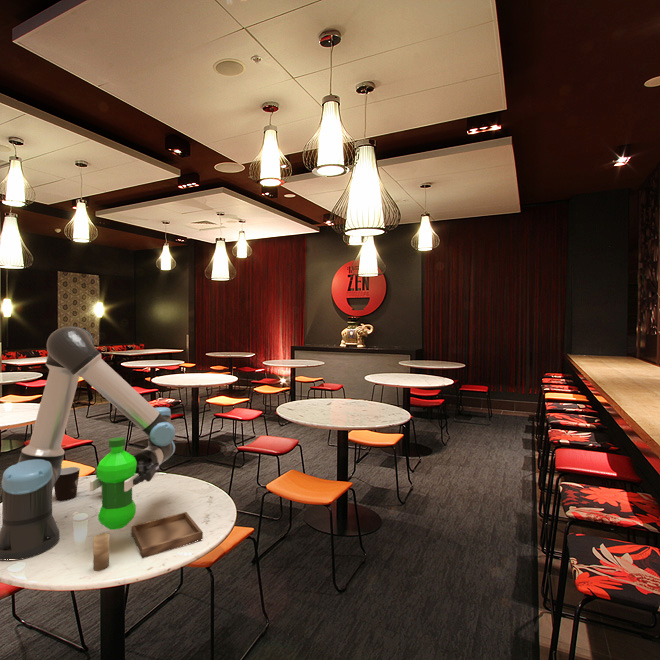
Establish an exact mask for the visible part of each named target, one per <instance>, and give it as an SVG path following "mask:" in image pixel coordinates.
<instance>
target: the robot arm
mask: <svg viewBox="0 0 660 660" xmlns="http://www.w3.org/2000/svg"><path fill="white" fill-rule="evenodd" d="M46 350H47V352H48V354H47V357H46V361H45V366H46V367H47V368H48V370H49V371H48V375H47V378H46V382H45V385H44V389H43V392H42V393H43V394H42V396H41V400H40V404H39V408H38V411H37V415H36V419H35V423H34V426H33V429H32V430H33V431H32V434H31V438H30V441H29V443H28V444H27V445H26V446H25V447H23V448H22V449H21V451H20V455H19V459H18V462H17V463H16V464H12V465H11V466H8V467H7V468H6V469H5V470H4V472H3V474H2V479H1V489H2V491H1V493H2V494H1V497H2V499H1V500H2V501H1V505H2V514H1V515H2V517H1V520H2V525H1V528H0V559H6V560H7V559H8V560H9V559H19V560H23V559H22V558H24V559H28V558H31V557H33V556H34V555H35V556H37V555H40V554H43V553H44V552H46V551H48V550H50V549H51V548H53V547H55V546H56V545H57V544H58V543H59V541H60V530H59V527H58V525H57V522H56V520H55V518H54V515H53V490H54V485H55V483H56V481H57V480H58V478H59V476H60V474H61V469H62V468H63V467H62V464H63V460H64V456H65V450H64V449H63V447H62V443H63V439H64V437H65V432H66V430H67V429H66V427H67V425H68V422H69V421H68V420H69V417H70V414H71V410H72V405H73V402H74V399H75V395H76V390H77V387H78V383H79V379H80V377H81V378H82V379H83V380H84V381H85V382H86V383H87V384H89V385H90V386H91V387H92V388H93V389H94V390H96V391H97V392H98V393H99V394H100V395H101V396H102V397H103V398H104V399H106V401H108V402H109V403H111V404H112V405H113V406H114V408H116V409H117V410H118V411H119V412H120V413H122V414H123V416H125V418H127V419H128V420H130V422H132V423H133V424H134V425H135V426H137V428H138V429H139V430H141V431H142V432H143V433H144V434H145V436H146V437H147V444H148V446H147V447H145V448H144V449H141V450H140V451H139V452H137V453H136V454H134V455H133V456H134V457H135V459H136V461H137V467H136V472H135V474H134V475H133V476H132V477H130V478H129V479H127V480H126V481H125V482H124V491H128V490H129V489H131V488H132V489H133V487H135V486H136V485H139V483H144V481H145V482H151V481H152V479H153V477H154V476H155V474H156V473H158V472H159V471H160V466H161V465H162V464H163V463H164V462H166V461H168V460H169V459H170V458H171V457H172V456H173V455H174V453H175V451H176V445H175V442H174V439H175V437H176V428H175V426H174V425H173V423H172V421H171V420H172V419H171V418H172V413H171V412H172V411H171V408H169V407H166V406H165V407H164V406H163V407H162V406H161V407H154V406H153V405H152V404H151V403H150V402H148V401H147V400H146V399H145V397H143V396H142V395H141V394H140V393H139V392H138V391H137V390H136V389H135V388H133V386H131V384H129V383H128V382H127V381H126V380H125V379H123V377H122V376H121V375H120V374H119V373H118V372H116V371H115V370H114V369H113V368H112V367H111V366H110V365H109V364H107V362H105V360H104V359H102V353H101V352H100V351H99V350H98V349H97V348H96V347H95V341H94V338H93V336H92V335H91V334H90V332H89V331H87V330H86V329H84V328H82V327H79V326H64V327H60V328H58V329H56V330H55V331H53V332H52V333H50V335H49V336H48V338H47V341H46ZM95 476H96V477H95V478H93V479H92V480H91V481H90V482H89V489H90V490H89V492H95V491H96V490H97V489H98V488H101V486H102V481H100V480H99V479H98V477H97V471H96V474H95ZM30 556H31V557H30ZM27 557H28V558H27ZM6 560H5V561H6ZM9 561H10V560H9Z"/></svg>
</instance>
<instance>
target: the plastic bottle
mask: <svg viewBox="0 0 660 660" xmlns="http://www.w3.org/2000/svg"><path fill="white" fill-rule="evenodd" d="M125 445H126V437H124V436H123V437H113V438H109V439H108V447H109V448H110V452H109V453H107V454H106V455H105V456H104V457H103V458H102V459H101V460H100V461H99V463H98V465H97V467H96V472H97V477H98V479H99V480H100V481H102V492H101V507H100V510H99V512H98V515H97V516H98V517H97V519H98V522H99V523H100V525H102V526H104V527H105V528H106V529H108V530H111V531H112V530H113V531H115V530H120V529H123V528H125V527H127V526H128V524H129V523H130V522H132V520H133V519H134V518H135V515H136V512H137V511H136V509H137V506H136V503H135V501H134V500H133V487H132V488H131V489H129V490H128V491H124V482H125V481H126V480H127V479H129V478H130V477H132V476H133V475H135V472H136V467H137V461H136V459H135V457H134V455H132V454H131V453H129V452H127V451H126V450H124V446H125Z"/></svg>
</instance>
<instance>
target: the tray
mask: <svg viewBox="0 0 660 660" xmlns="http://www.w3.org/2000/svg"><path fill="white" fill-rule="evenodd" d="M130 527H131V528H130V529H131V530H130V531H131V532H130V534H131V537H132V539H133V541H134V543H135V545H136V546H137V547H136V548H137V550H138V552H139V553H140V556H141V558H142V559H144V558H146V557H147V558H148V557H151V556H154V555H157V554H160V553H165V552H167V551H171V550H174V548H175V549H178V548H181V547H184V546H183V545H185V546H187V545H186V544H188V545H190V544H189V543H191V544H193V543H192V542H195V541H197V540H201V539H204V538H203V537H204V535H203V534H204V533H203V530H202V529H201V528H200V527H199V526H198V524H197V523H196V522H195V521H194V520H193V518H192V517H191V516H190V514H189V513H188V512H187V511H183V512H180V513H177V514H173V515H170V516H165V517H161V518H157V519H152V520H149V521H146V522H141V523H137V524H134V525H133V524H132V525H131V526H130ZM201 541H202V540H201ZM195 543H196V542H195ZM180 546H181V547H180ZM177 547H178V548H177Z"/></svg>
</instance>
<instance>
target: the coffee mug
mask: <svg viewBox="0 0 660 660" xmlns="http://www.w3.org/2000/svg"><path fill="white" fill-rule="evenodd" d="M61 468H62V469H61V474H60V476H59V478H58V480H57V481H56V483H55V485H54V487H53V490H54V495H55V500H56V501H57V502H65V501H66V502H67V501H70V500H73V499H75V498H76V497H77V495H78V494H77V493H78V485H79V477H80V471H81V470H80V467H77V466H68V467H61Z"/></svg>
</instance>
